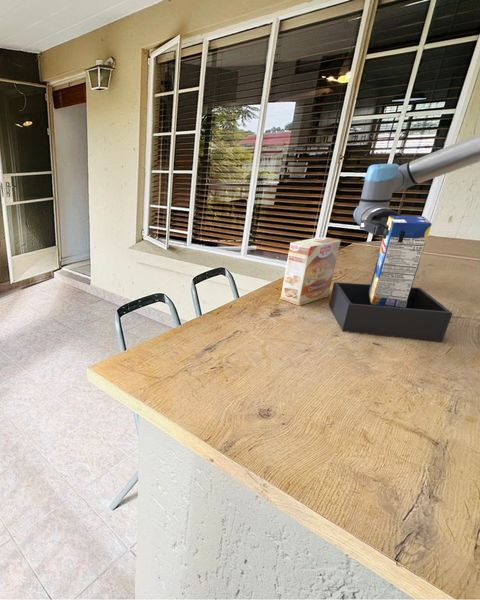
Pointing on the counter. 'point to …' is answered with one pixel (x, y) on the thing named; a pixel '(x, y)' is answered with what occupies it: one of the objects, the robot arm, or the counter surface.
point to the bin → (389, 314)
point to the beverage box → (398, 261)
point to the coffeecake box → (309, 270)
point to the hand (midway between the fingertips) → (411, 237)
